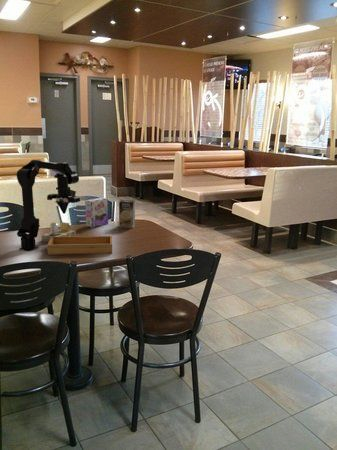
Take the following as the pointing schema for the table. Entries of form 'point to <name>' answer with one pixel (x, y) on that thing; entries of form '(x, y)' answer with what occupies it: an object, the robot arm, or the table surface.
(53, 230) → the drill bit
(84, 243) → the tray
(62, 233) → the socket block
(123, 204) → the coffee box
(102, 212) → the candy box
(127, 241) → the table surface
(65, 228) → the drift key
